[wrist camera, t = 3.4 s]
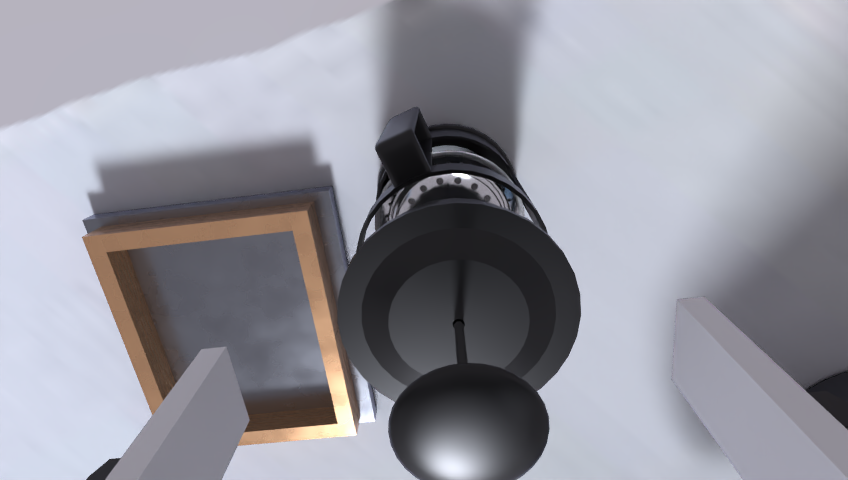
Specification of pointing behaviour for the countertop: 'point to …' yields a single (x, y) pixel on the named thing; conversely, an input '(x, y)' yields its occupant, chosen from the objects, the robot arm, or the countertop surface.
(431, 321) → the french press
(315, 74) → the countertop surface
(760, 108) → the countertop surface
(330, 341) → the rectangular wooden frame
